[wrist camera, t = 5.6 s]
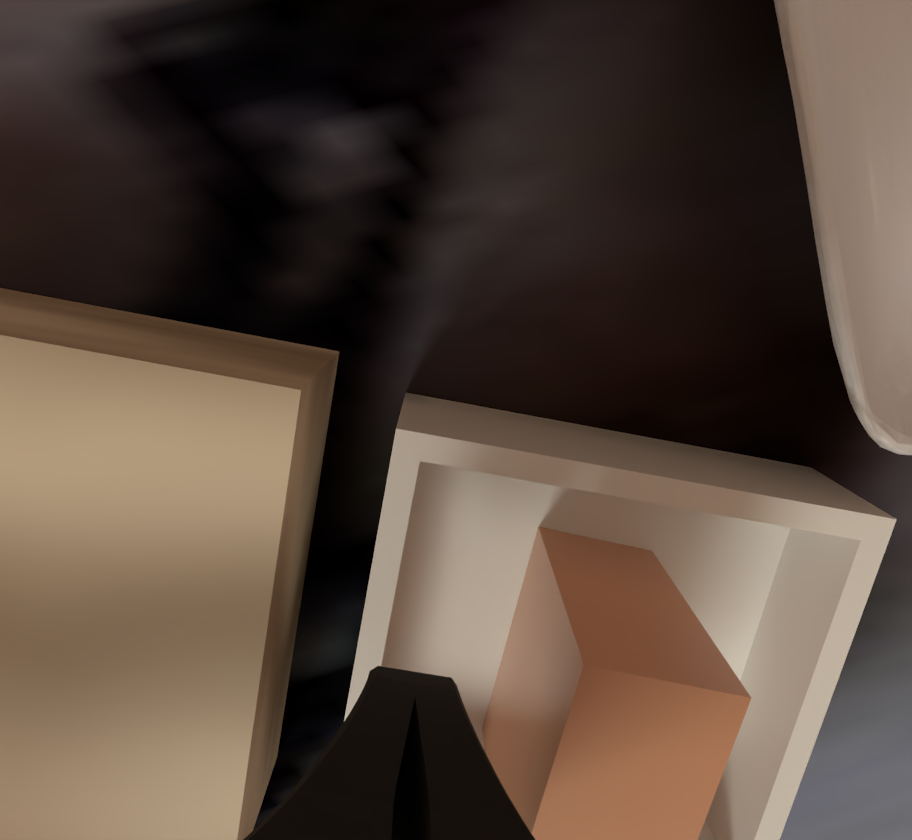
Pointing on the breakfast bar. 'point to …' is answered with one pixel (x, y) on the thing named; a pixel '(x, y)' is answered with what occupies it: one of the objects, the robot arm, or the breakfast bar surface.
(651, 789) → the terracotta-coloured block
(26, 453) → the beige bevelled block
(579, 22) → the breakfast bar surface
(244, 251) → the breakfast bar surface
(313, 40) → the breakfast bar surface
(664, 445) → the tray
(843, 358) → the salad plate
